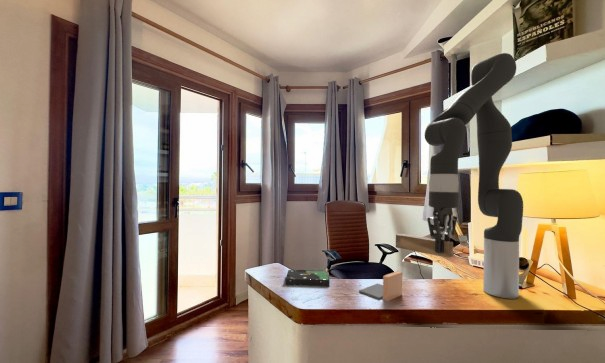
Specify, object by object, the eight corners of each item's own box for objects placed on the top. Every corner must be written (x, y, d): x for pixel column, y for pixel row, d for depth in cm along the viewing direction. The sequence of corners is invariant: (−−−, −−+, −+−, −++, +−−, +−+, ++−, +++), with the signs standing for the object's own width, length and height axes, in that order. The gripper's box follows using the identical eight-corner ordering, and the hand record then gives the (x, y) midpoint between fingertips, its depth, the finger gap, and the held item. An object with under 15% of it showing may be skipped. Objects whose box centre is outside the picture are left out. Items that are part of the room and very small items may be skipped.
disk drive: (285, 287, 94) (330, 287, 94) (285, 278, 94) (330, 279, 94) (288, 277, 104) (328, 277, 104) (288, 269, 104) (328, 269, 104)
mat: (377, 285, 95) (377, 283, 95) (397, 291, 90) (397, 289, 90) (358, 292, 89) (359, 290, 89) (379, 299, 83) (379, 297, 83)
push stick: (400, 246, 91) (401, 233, 91) (452, 256, 79) (453, 241, 79) (395, 247, 89) (395, 234, 89) (448, 257, 77) (448, 243, 77)
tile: (397, 293, 89) (397, 270, 89) (402, 294, 88) (402, 272, 88) (382, 299, 84) (382, 275, 84) (387, 301, 82) (388, 277, 82)
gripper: (445, 190, 72) (444, 258, 72) (467, 191, 81) (466, 251, 81) (418, 189, 78) (416, 252, 78) (441, 190, 87) (440, 246, 87)
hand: (442, 251), depth 79 cm, fingers closed on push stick, 3 cm apart
